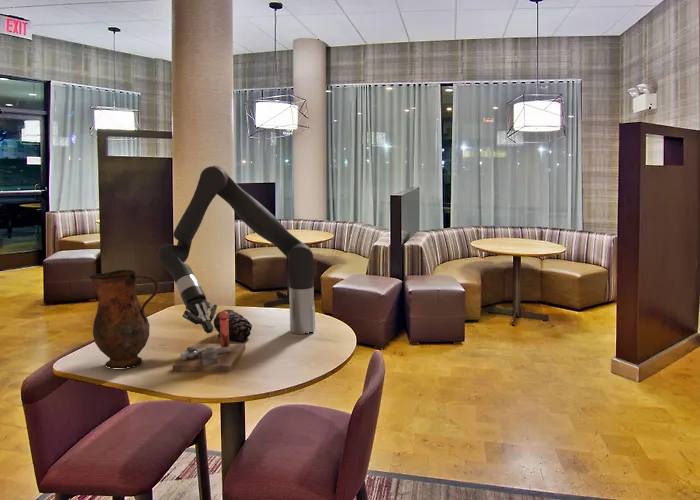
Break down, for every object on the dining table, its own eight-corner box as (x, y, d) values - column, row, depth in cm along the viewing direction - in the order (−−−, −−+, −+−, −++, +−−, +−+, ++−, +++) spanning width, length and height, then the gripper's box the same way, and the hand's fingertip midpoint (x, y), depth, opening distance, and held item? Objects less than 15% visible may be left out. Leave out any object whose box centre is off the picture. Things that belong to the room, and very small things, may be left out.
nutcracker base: (245, 349, 185) (244, 332, 184) (230, 371, 165) (229, 353, 164) (194, 349, 186) (193, 332, 185) (172, 371, 166) (171, 352, 165)
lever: (183, 360, 168) (180, 319, 166) (180, 356, 172) (177, 315, 170) (232, 352, 175) (230, 311, 173) (228, 348, 179) (226, 308, 177)
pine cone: (241, 345, 189) (240, 318, 187) (208, 336, 199) (207, 310, 198) (263, 338, 197) (262, 311, 196) (230, 329, 208) (228, 304, 206)
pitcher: (108, 355, 181) (101, 267, 176) (172, 354, 181) (166, 267, 176) (85, 374, 164) (76, 278, 160) (154, 373, 164) (148, 277, 160)
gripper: (176, 287, 182) (196, 330, 175) (210, 281, 191) (231, 321, 184) (169, 300, 186) (189, 342, 180) (203, 293, 196) (223, 333, 189)
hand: (210, 331), depth 182 cm, fingers closed
